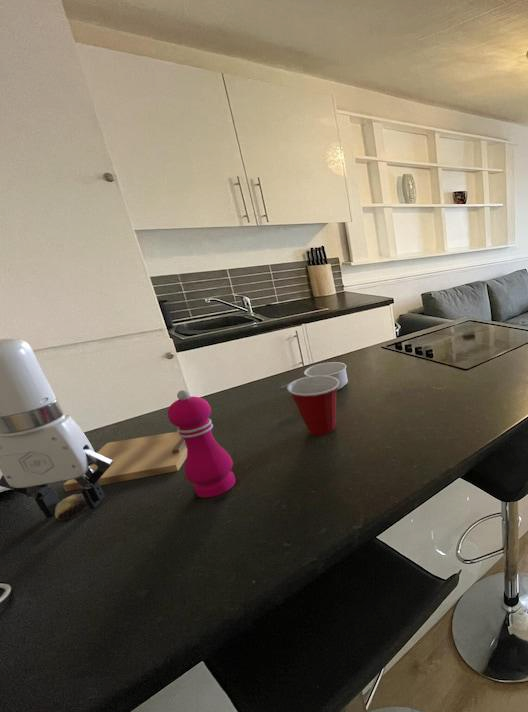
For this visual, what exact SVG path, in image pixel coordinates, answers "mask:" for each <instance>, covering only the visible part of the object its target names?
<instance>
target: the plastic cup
mask: <svg viewBox="0 0 528 712" xmlns="http://www.w3.org/2000/svg"><path fill="white" fill-rule="evenodd" d="M339 382H340V381H339V380H338V379H337V378H334V377H331V376H323V375H322V376H309V377H306V376H305V377H301V378H298V379H294V380H293V381H291V382H290V384H289V383H288V384H289V385H288V387H287V391H288V392H289V394H290V395H291V396H292V398H293V401H294V402H295V404H296V407H297V409H298V411H299V414H300V416H301V418H302V421H303V422H304V424H305V426H306V428H307V431H308V432H309V433H310V435H312V436H316V435H317V436H318V437H319V436H325V435H328V434H330V433H332V432H333V431H334V430H335V429H336V426H337V417H336V415H337V393H338V390H337V387H338V386H339ZM327 433H328V434H327ZM324 434H325V435H324Z"/></svg>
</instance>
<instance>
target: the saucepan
mask: <svg viewBox="0 0 528 712" xmlns="http://www.w3.org/2000/svg"><path fill="white" fill-rule="evenodd" d="M303 374H304V375H305V377H309V376H322V375H323V376H331V377H334V378H337V379H338V380H339V381H340V382H339V386H338V387H337V391H339V390H340V389H342V388H343V387H344V386H345V385H347V384H348V382H349V379H348V375H347V364H346V363H344V362H339V361H329V362H323V363H317V364H314V365H312V366H309V367H308V368H306V369H305V370H304V371H303ZM290 383H291V382H290ZM290 383H286V384H284V385H282V386H280V387H279V390H280V391H284V390H286V389H287V387H288V385H289V384H290ZM287 390H288V389H287Z"/></svg>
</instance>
